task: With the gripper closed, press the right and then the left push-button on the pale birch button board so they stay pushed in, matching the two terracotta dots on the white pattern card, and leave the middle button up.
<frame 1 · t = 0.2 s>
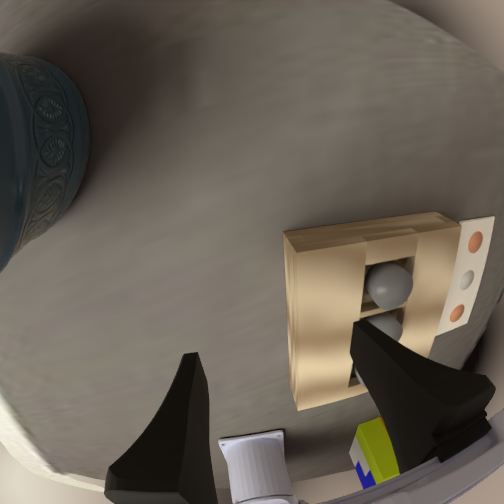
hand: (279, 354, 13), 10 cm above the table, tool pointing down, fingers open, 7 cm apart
canister: (21, 146, 16), on the table
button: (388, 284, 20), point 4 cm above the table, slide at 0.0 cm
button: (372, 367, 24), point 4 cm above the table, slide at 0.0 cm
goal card: (465, 278, 26), on the table
middle button: (380, 331, 22), point 4 cm above the table, slide at 0.0 cm
button board: (362, 307, 25), on the table
puzzle toy: (381, 428, 38), on the table
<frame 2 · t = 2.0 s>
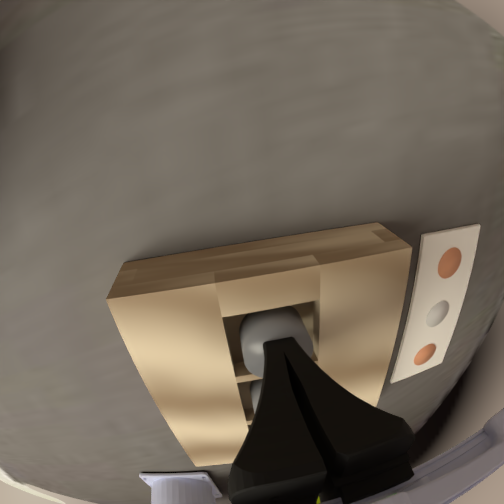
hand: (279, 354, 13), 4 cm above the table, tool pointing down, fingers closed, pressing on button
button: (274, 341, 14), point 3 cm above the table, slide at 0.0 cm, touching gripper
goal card: (435, 311, 20), on the table
middle button: (279, 397, 16), point 3 cm above the table, slide at 0.0 cm
button board: (268, 356, 19), on the table
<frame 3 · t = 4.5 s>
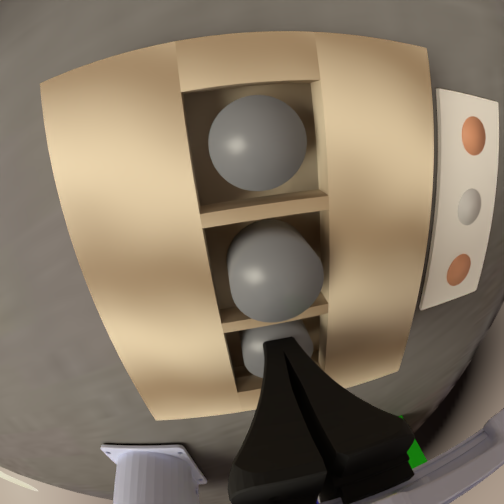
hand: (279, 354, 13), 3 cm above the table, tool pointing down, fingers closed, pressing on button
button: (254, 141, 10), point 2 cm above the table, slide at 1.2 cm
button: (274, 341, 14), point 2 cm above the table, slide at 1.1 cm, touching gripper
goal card: (466, 205, 15), on the table
middle button: (272, 270, 11), point 3 cm above the table, slide at 0.0 cm
button board: (257, 235, 14), on the table
puzzle toy: (351, 449, 27), on the table
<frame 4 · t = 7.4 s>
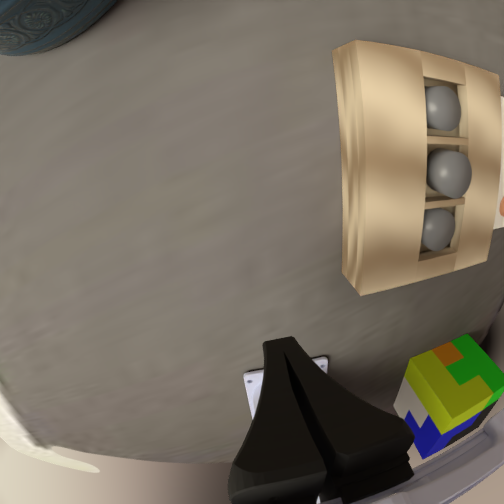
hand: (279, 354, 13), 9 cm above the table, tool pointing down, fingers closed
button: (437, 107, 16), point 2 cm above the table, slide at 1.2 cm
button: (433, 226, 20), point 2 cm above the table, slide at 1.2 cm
middle button: (448, 172, 17), point 4 cm above the table, slide at 0.0 cm
button board: (419, 163, 20), on the table
puzzle toy: (430, 370, 33), on the table
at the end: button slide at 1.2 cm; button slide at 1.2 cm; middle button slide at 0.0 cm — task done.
